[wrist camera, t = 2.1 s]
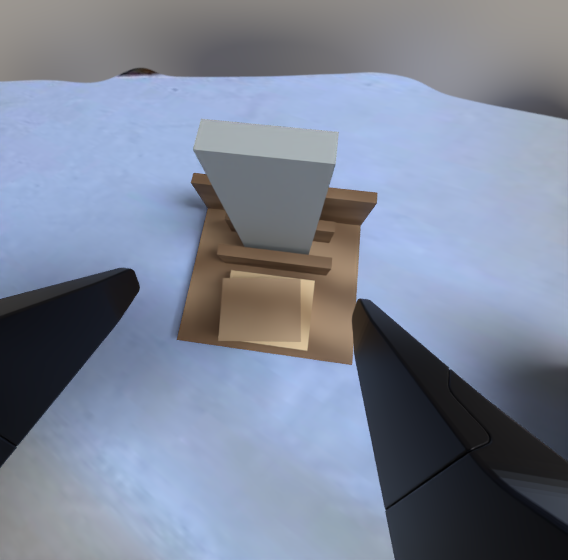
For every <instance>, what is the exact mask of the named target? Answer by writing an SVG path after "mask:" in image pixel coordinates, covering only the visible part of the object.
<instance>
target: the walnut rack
mask: <svg viewBox="0 0 568 560" xmlns="http://www.w3.org/2000/svg"><path fill="white" fill-rule="evenodd" d="M191 184H192V185H193V187H194V188H195V190H196V191H197V193H198V194H199V196H200V197H201V199H202V200H203V202H204V203H205V205H206V206H207V208H208V210H207V214H206V218H205V222H204V227H203V231H202V235H201V239H200V244H199V248H198V252H197V256H196V261H195V265H194V269H193V273H192V277H191V282H190V286H189V290H188V294H187V299H186V303H185V307H184V311H183V316H182V320H181V324H180V328H179V333H178V337H177V340H182V341H189V342H196V343H203V344H210V345H217V346H224V347H231V348H238V349H245V350H252V351H259V352H265V353H272V354H279V355H286V356H293V357H300V358H307V359H314V360H321V361H328V362H335V363H342V364H349V365H352V358H353V330H352V314H353V311H354V308H355V305H356V293H357V276H358V260H359V244H360V227H361V224H362V223H363V222H364V220H365V219H366V218H367V216H368V215H369V213H370V212H371V211H372V209H373V208H374V206H375V205H376V204H377V193H375V192H366V191H357V190H347V189H338V188H328V191H327V194H326V198H325V201H324V205H323V208H322V211H321V215H320V218H319V221H318V225H317V228H316V232H315V235H314V238H313V242H312V245H311V248H310V252H309V255H306V254H298V253H290V252H282V251H273V250H265V249H257V248H249V247H245V246H244V245H243V243H242V241H241V239H240V237H239V235H238V233H237V231H236V230H235V228H234V226H233V224H232V222H231V220H230V218H229V216H228V214H227V213H226V211H225V209H224V207H223V205H222V203H221V201H220V199H219V198H218V196H217V194H216V192H215V190H214V188H213V186H212V184H211V182H210V181H209V179H208V177H207V175H206V174H199V173H193V177H192V181H191ZM231 270H234V271H242V272H249V273H257V274H265V275H273V276H281V277H289V278H296V279H304V280H312V281H315V283H314V293H313V302H312V312H311V321H310V330H309V340H308V349H307V351H306V350H299V349H292V348H285V347H278V346H271V345H264V344H257V343H250V342H243V341H218V339H219V338H218V336H219V326H220V313H221V300H222V287H223V278H230V274H231Z"/></svg>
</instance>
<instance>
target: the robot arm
mask: <svg viewBox="0 0 568 560" xmlns="http://www.w3.org/2000/svg"><path fill="white" fill-rule="evenodd" d="M139 289H140V286H139V282H138V280H137V277H136V274H135V272H134V270H132V269H129V268H117V269H114V270H110V271H106V272H102V273H98V274H94V275H91V276H87V277H83V278H79V279H75V280H71V281H68V282H64V283H60V284H56V285H52V286H48V287H45V288H41V289H37V290H33V291H29V292H25V293H22V294H18V295H14V296H10V297H6V298H2V299H0V468H1V466H2V465H3V464H4V463H5V461H6V460H7V459H8V458H9V456H10V455H11V454H12V453H13V452H14V450H15V449H16V448H17V446H18V445H19V444H20V443H21V441H22V440H23V439H24V438H25V436H26V435H27V434H28V433H29V431H30V430H31V429H32V428H33V427H34V425H35V424H36V423H37V422H38V420H39V419H40V418H41V417H42V415H43V414H44V413H45V412H46V411H47V409H48V408H49V407H50V406H51V404H52V403H53V402H54V401H55V400H56V398H57V397H58V396H59V395H60V393H61V392H62V391H63V390H64V388H65V387H66V386H67V385H68V384H69V382H70V381H71V380H72V379H73V377H74V376H75V375H76V374H77V372H78V371H79V370H80V369H81V368H82V366H83V365H84V364H85V363H86V361H87V360H88V359H89V358H90V357H91V355H92V354H93V353H94V352H95V350H96V349H97V348H98V347H99V345H100V344H101V343H102V342H103V341H104V339H105V338H106V337H107V336H108V334H109V333H110V332H111V331H112V329H113V328H114V327H115V326H116V324H117V323H118V322H119V320H120V319H121V318H122V316H123V315H124V313H125V312H126V310H127V309H128V307H129V306H130V304H131V302H132V301H133V299H134V298H135V296H136V295H137V293H138V292H139ZM352 330H353V343H354V355H355V361H356V366H357V371H358V376H359V381H360V386H361V391H362V396H363V401H364V406H365V411H366V416H367V421H368V426H369V431H370V436H371V441H372V446H373V451H374V456H375V461H376V466H377V471H378V476H379V481H380V486H381V491H382V496H383V501H384V506H385V509H386V511H385V512H386V517H387V522H388V527H389V532H390V537H391V542H392V547H393V553H394V558H395V560H568V462H567V461H566V460H565V459H563V458H562V457H561V456H559V455H558V454H557V453H556V452H554V451H553V450H552V449H550V448H549V447H548V446H546V445H545V444H544V443H543V442H541V441H540V440H539V439H537V438H536V437H535V436H533V435H532V434H531V433H530V432H528V431H527V430H526V429H524V428H523V427H522V426H520V425H519V424H518V423H517V422H515V421H514V420H513V419H511V418H510V417H509V416H507V415H506V414H505V413H504V412H502V411H501V410H500V409H499V408H497V407H496V406H495V405H493V404H492V403H491V402H490V401H488V400H487V399H486V398H485V397H483V396H482V395H481V394H480V393H478V392H477V391H476V390H475V389H474V388H472V387H471V386H470V385H469V384H468V383H466V382H465V381H464V380H463V379H462V378H461V377H459V376H458V375H457V374H456V373H455V372H454V371H452V370H449V367H448V366H446V365H445V364H444V363H443V362H442V361H441V360H439V359H438V358H437V357H436V356H435V355H434V354H432V353H431V352H430V351H429V350H428V349H427V348H425V347H424V346H423V345H422V344H421V343H420V342H418V341H417V340H416V339H415V338H414V337H413V336H411V335H410V334H409V333H408V332H407V331H406V330H404V329H403V328H402V327H401V326H400V325H399V324H397V323H396V322H395V321H394V320H393V319H392V318H390V317H389V316H388V315H387V314H386V313H385V312H383V311H382V310H381V309H380V308H379V307H378V306H376V305H375V304H374V303H373V302H372V301H370V300H368V299H358V300H357V303H356V305H355V308H354V311H353V314H352Z"/></svg>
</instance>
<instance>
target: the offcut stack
mask: <svg viewBox="0 0 568 560" xmlns="http://www.w3.org/2000/svg"><path fill="white" fill-rule="evenodd" d="M314 283H315V281H312V280H304V279H296V278H289V277H281V276H273V275H265V274H257V273H249V272H242V271H234V270H231V274H230V278H223V287H222V300H221V313H220V326H219V336H218V338H219V339H218V341H243V342H250V343H257V344H264V345H271V346H278V347H285V348H292V349H299V350H306V351H307V349H308V340H309V330H310V321H311V312H312V302H313V293H314Z"/></svg>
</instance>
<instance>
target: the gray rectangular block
mask: <svg viewBox="0 0 568 560" xmlns="http://www.w3.org/2000/svg"><path fill="white" fill-rule="evenodd" d="M338 133H339V132H332V131H322V130H312V129H301V128H291V127H281V126H270V125H260V124H249V123H239V122H229V121H218V120H208V119H201V121H200V125H199V129H198V133H197V136H196V140H195V144H194V147H193V150H194V152H195V154H196V156H197V158H198V160H199V162H200V164H201V165H202V167H203V169H204V171H205V173H206V175H207V177H208V179H209V181H210V182H211V184H212V186H213V188H214V190H215V192H216V194H217V196H218V198H219V199H220V201H221V203H222V205H223V207H224V209H225V211H226V213H227V214H228V216H229V218H230V220H231V222H232V224H233V226H234V228H235V230H236V231H237V233H238V235H239V237H240V239H241V241H242V243H243V245H244V246H245V247H249V248H257V249H265V250H273V251H282V252H290V253H298V254H306V255H309V252H310V248H311V245H312V242H313V238H314V235H315V232H316V228H317V225H318V221H319V218H320V215H321V211H322V208H323V205H324V201H325V198H326V194H327V191H328V188H329V184H330V181H331V178H332V174H333V171H334V167H335V164H336V154H337V143H338Z"/></svg>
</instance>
